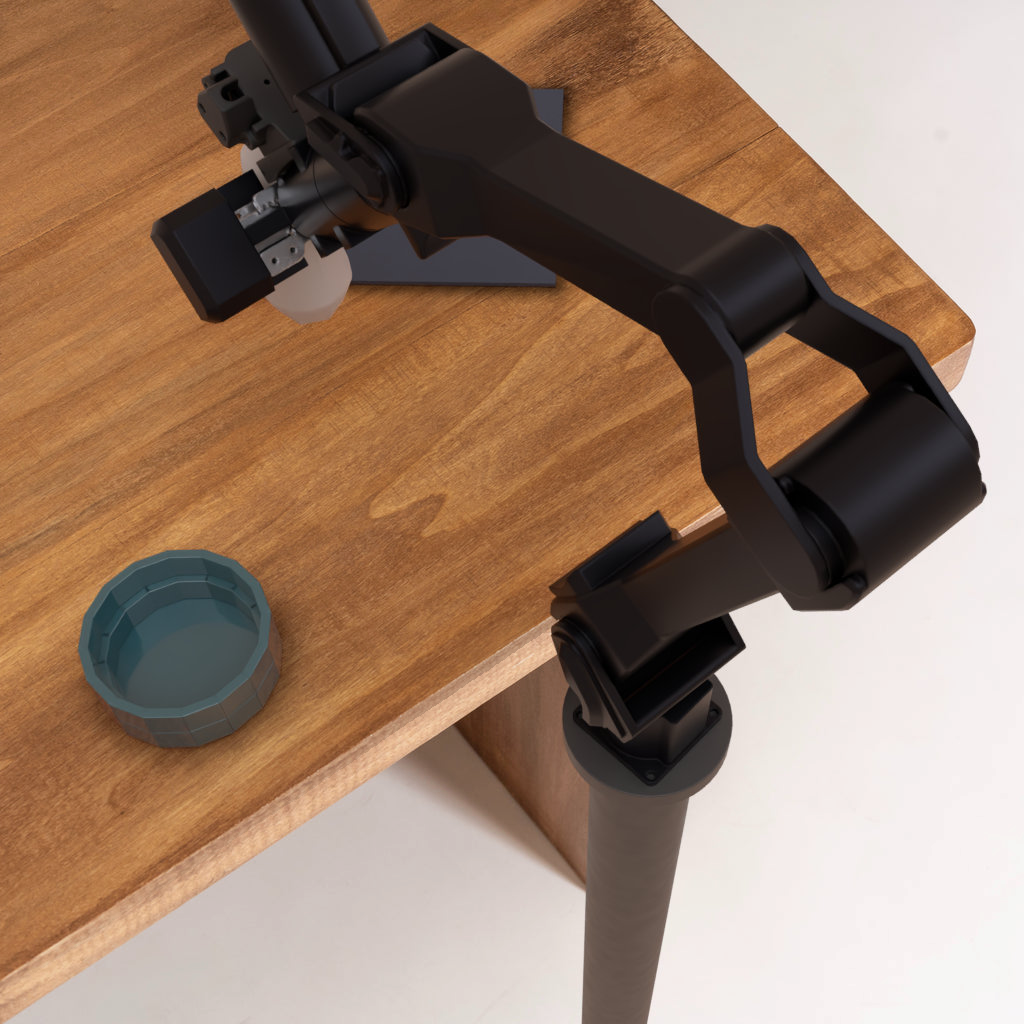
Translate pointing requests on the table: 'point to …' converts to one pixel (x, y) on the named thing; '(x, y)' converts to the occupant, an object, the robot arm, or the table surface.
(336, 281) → the salt shaker
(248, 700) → the blue-grey round bowl
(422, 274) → the cloth
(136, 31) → the table surface
